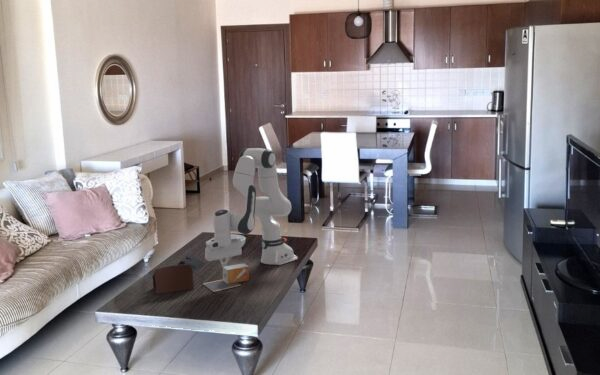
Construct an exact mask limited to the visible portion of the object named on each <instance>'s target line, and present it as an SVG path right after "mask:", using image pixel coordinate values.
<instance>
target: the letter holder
mask: <svg viewBox="0 0 600 375" xmlns="http://www.w3.org/2000/svg"><path fill="white" fill-rule="evenodd" d="M152 285H153V290H154V293H155V295H160V294H161V295H162V294H167V293H173V292H174V291H175V292H181V291H189V290H194V288H195V284H194V273H193V268H192V265H168V266H164V267H160V268H157V269H154V271H153V274H152ZM175 292H174V293H175Z"/></svg>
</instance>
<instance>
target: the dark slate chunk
mask: <svg viewBox="0 0 600 375" xmlns="http://www.w3.org/2000/svg"><path fill="white" fill-rule="evenodd" d="M177 265H192V268H193V274H194V273H196V272H197V271H198V270H199V269H200V268H201V267H203V265H205V262H204V261H202V260H199V258H198V257H196V256H192V255H187V256H186V257H185V258H184V259H182V260H180V261H179V262H177Z"/></svg>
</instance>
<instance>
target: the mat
mask: <svg viewBox="0 0 600 375" xmlns="http://www.w3.org/2000/svg"><path fill="white" fill-rule="evenodd" d="M202 285H203V286H204V287H206V288H207V289H208V290H210V291H211V292H212V293H217V292H222V291H226V290H230V288H231V289H234V287H235V288H238V286H239V287H242V284H240V282H236V283H230V284H227V283H225V282H224V281H223V278H222V279H218V280H214V281H210V282H205V283H202Z"/></svg>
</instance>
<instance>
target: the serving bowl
mask: <svg viewBox="0 0 600 375" xmlns="http://www.w3.org/2000/svg"><path fill="white" fill-rule="evenodd" d="M235 238H238V240H239V239H240V240H241V248H242V247H243V246H244V245H245V243H246V238H247V237H245V236H244V235H241V234H235V233H234V234H232V233H231V239H235Z"/></svg>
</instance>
